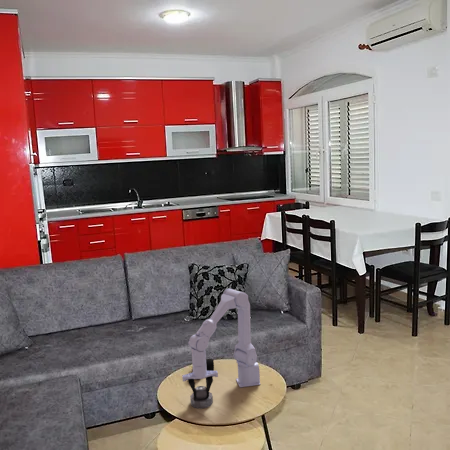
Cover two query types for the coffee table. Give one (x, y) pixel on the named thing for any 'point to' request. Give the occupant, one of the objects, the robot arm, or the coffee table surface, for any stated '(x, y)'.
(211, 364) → the film camera
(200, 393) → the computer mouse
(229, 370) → the coffee table surface
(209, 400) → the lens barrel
